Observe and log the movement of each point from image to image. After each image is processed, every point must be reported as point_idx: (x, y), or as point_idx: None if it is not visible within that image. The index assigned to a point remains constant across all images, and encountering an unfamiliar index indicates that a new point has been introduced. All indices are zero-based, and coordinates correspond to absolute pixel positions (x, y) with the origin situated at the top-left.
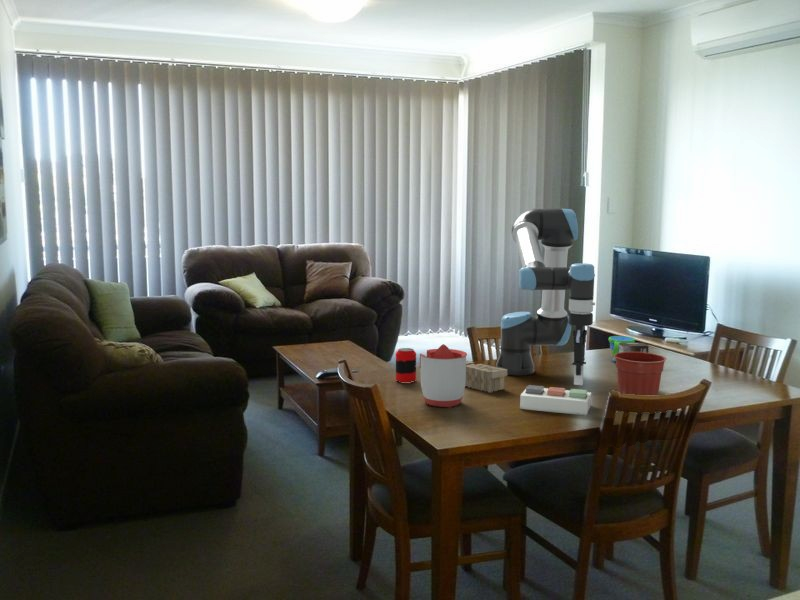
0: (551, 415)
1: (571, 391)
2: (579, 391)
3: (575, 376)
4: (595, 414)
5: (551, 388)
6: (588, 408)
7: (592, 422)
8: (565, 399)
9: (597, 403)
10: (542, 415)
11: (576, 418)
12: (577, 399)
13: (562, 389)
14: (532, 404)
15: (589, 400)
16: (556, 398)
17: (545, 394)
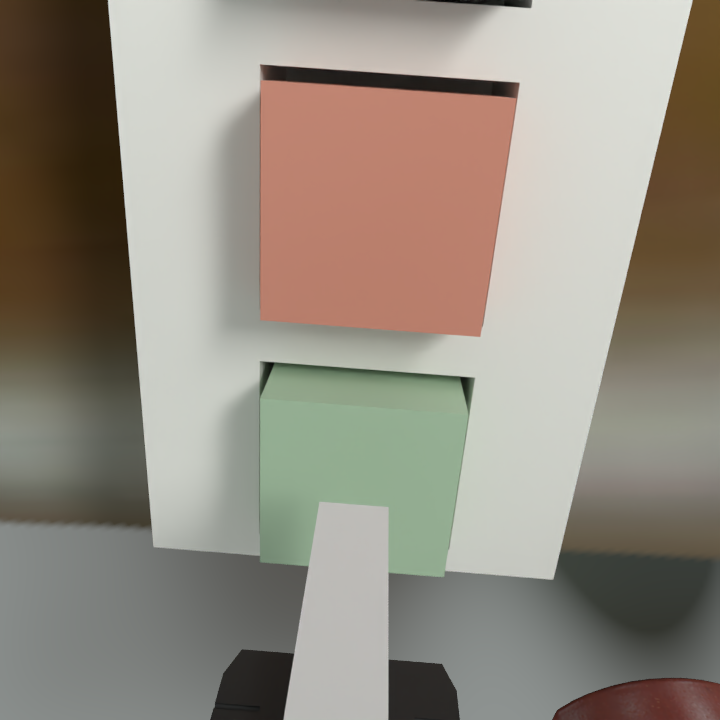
0: (55, 159)
1: (320, 422)
2: None
3: (304, 613)
4: None
5: (414, 137)
6: None
7: (19, 504)
8: (136, 339)
9: (613, 536)
10: (9, 60)
11: (69, 390)
12: (197, 460)
13: (395, 306)
14: None
15: None
16: (137, 228)
17: (297, 49)
